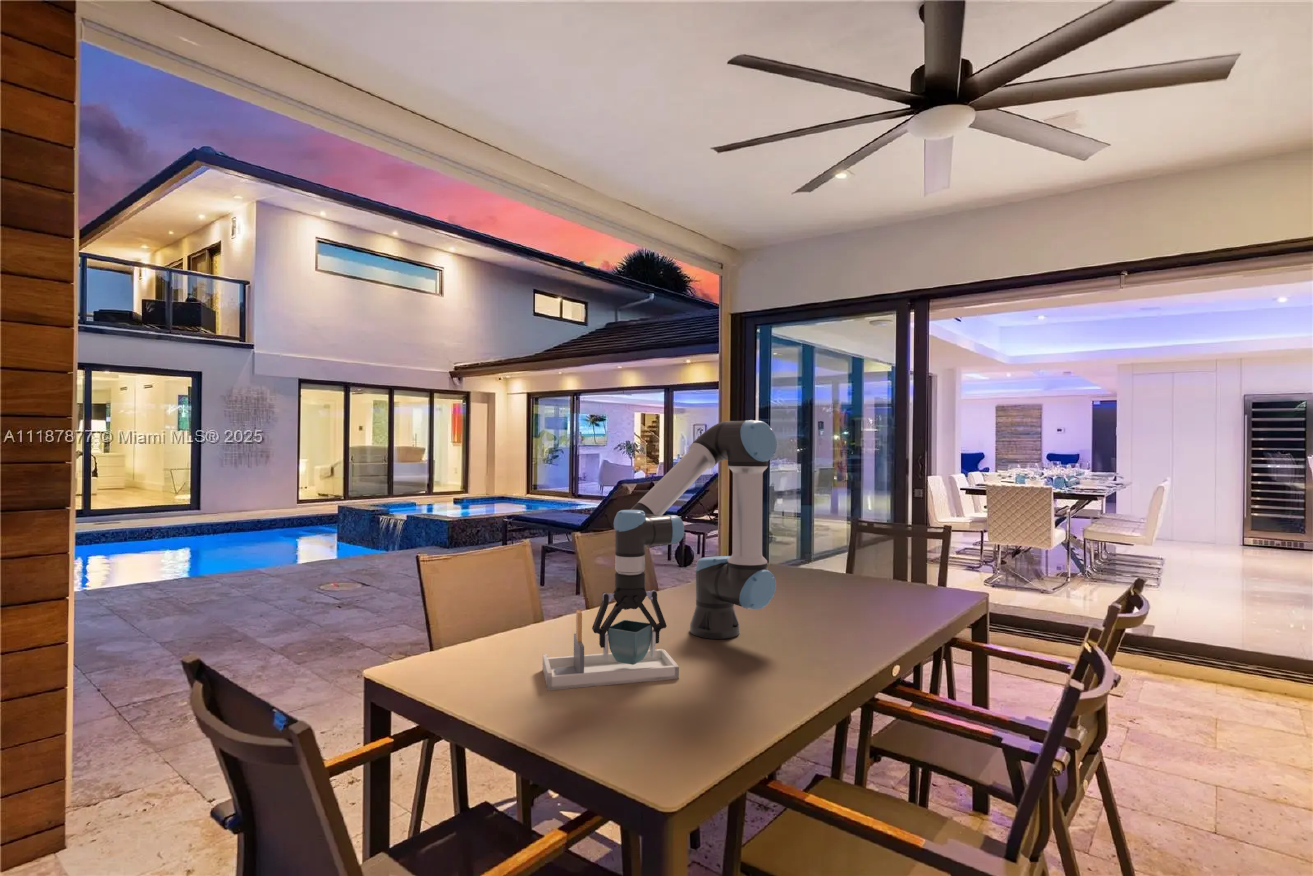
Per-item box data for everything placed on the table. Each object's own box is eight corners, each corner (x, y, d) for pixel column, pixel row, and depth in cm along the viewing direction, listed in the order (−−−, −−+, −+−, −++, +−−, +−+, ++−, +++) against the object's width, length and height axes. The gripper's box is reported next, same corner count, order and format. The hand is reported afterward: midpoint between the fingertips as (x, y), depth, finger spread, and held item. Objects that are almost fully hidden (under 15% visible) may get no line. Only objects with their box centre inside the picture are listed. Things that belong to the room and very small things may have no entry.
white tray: (663, 660, 172) (663, 645, 172) (678, 678, 159) (678, 662, 159) (542, 670, 164) (542, 654, 164) (547, 690, 151) (547, 673, 151)
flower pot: (605, 663, 161) (605, 627, 161) (623, 653, 169) (623, 619, 169) (636, 669, 157) (636, 632, 157) (653, 658, 165) (653, 623, 165)
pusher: (577, 664, 165) (578, 606, 165) (583, 680, 154) (584, 617, 154) (553, 666, 164) (554, 607, 164) (558, 682, 153) (559, 619, 153)
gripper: (671, 566, 170) (670, 649, 169) (580, 570, 164) (580, 657, 163) (679, 572, 162) (678, 659, 162) (585, 576, 156) (584, 667, 156)
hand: (629, 658), depth 163 cm, fingers closed on flower pot, 11 cm apart
